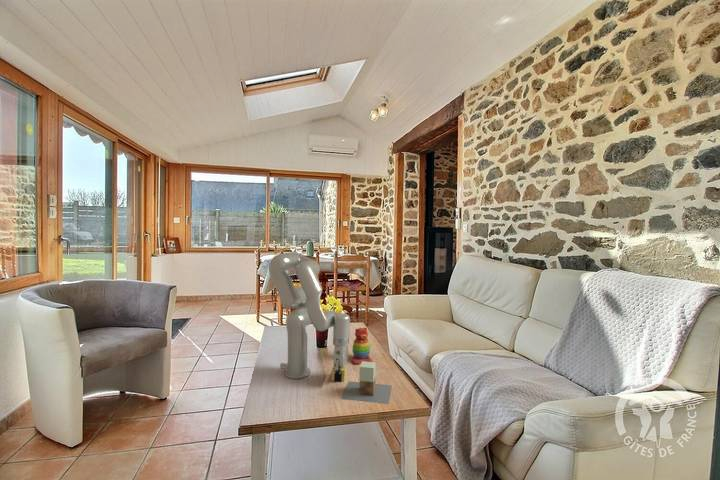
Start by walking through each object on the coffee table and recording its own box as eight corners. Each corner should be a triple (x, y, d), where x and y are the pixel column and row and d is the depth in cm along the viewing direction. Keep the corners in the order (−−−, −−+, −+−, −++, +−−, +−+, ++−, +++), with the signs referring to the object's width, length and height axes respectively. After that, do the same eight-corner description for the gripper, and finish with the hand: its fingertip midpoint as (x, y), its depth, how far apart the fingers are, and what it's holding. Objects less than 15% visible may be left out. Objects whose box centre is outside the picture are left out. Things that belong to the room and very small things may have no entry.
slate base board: (340, 402, 139) (340, 398, 139) (348, 384, 155) (348, 381, 155) (388, 407, 136) (388, 403, 136) (392, 388, 151) (392, 385, 151)
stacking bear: (353, 365, 176) (354, 331, 175) (349, 358, 186) (349, 326, 185) (373, 363, 179) (374, 330, 178) (367, 356, 189) (368, 324, 188)
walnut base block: (359, 394, 143) (359, 380, 142) (361, 387, 149) (361, 374, 148) (373, 395, 142) (373, 382, 141) (375, 389, 148) (375, 375, 147)
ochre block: (331, 381, 155) (332, 369, 155) (334, 376, 161) (335, 363, 161) (344, 383, 154) (344, 370, 154) (346, 377, 160) (347, 365, 160)
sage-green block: (359, 380, 142) (359, 366, 142) (361, 374, 148) (362, 361, 148) (373, 382, 141) (373, 368, 141) (375, 375, 147) (375, 362, 147)
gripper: (344, 348, 148) (343, 388, 149) (352, 335, 165) (350, 371, 166) (328, 346, 149) (326, 385, 150) (337, 333, 166) (336, 369, 167)
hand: (339, 377), depth 158 cm, fingers closed on ochre block, 6 cm apart
